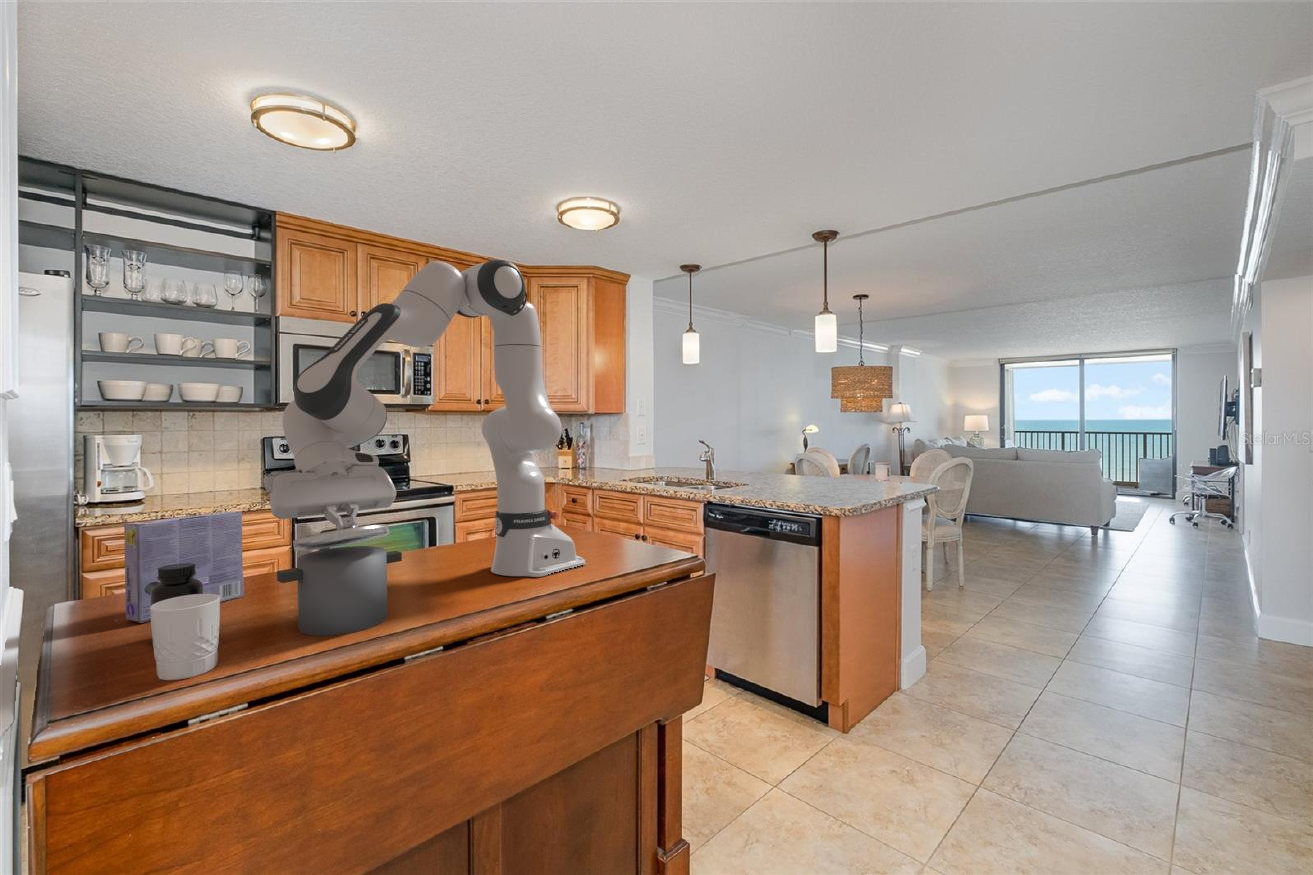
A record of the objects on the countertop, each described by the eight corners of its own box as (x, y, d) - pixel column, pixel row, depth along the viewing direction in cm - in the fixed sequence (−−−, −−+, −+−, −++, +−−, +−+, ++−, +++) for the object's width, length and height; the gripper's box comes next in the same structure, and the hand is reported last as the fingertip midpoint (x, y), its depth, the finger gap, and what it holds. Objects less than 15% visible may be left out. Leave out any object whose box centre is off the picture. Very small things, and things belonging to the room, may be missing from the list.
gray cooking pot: (383, 600, 118) (381, 540, 117) (417, 615, 109) (416, 550, 108) (267, 627, 103) (265, 558, 102) (295, 647, 94) (294, 572, 93)
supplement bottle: (207, 638, 98) (205, 566, 97) (153, 649, 93) (151, 573, 93) (201, 627, 103) (199, 559, 102) (149, 638, 98) (147, 566, 97)
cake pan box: (235, 592, 124) (232, 508, 123) (250, 595, 122) (248, 509, 121) (123, 621, 106) (120, 523, 105) (139, 625, 104) (136, 525, 103)
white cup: (167, 687, 80) (165, 614, 80) (141, 675, 84) (139, 605, 83) (232, 666, 87) (231, 598, 86) (205, 655, 91) (203, 590, 90)
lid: (369, 541, 116) (368, 533, 116) (404, 529, 106) (402, 520, 106) (281, 554, 104) (280, 545, 104) (312, 543, 95) (310, 533, 95)
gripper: (264, 460, 100) (285, 525, 94) (385, 455, 116) (410, 510, 110) (256, 485, 103) (276, 549, 97) (375, 476, 119) (399, 531, 113)
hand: (348, 528), depth 103 cm, fingers closed, pressing on lid
